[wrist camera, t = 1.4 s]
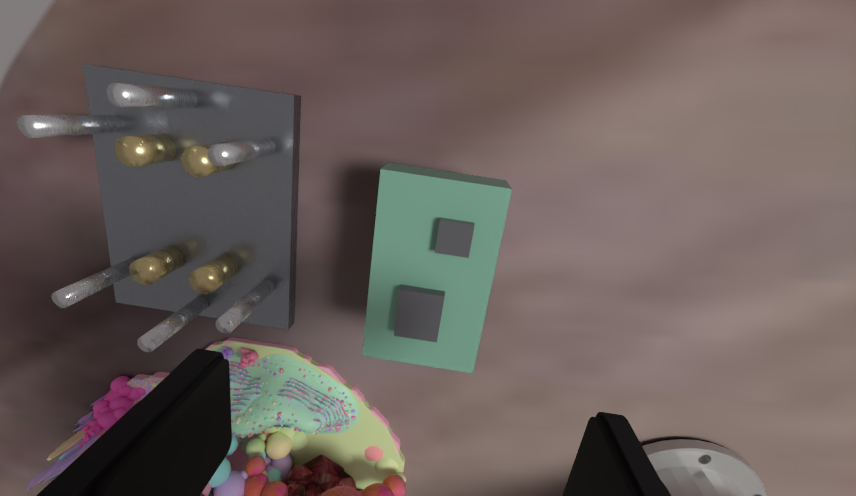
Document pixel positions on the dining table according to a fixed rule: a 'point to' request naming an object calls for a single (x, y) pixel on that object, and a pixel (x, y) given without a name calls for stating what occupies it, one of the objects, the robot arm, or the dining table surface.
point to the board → (432, 265)
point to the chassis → (190, 197)
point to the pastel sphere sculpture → (274, 428)
